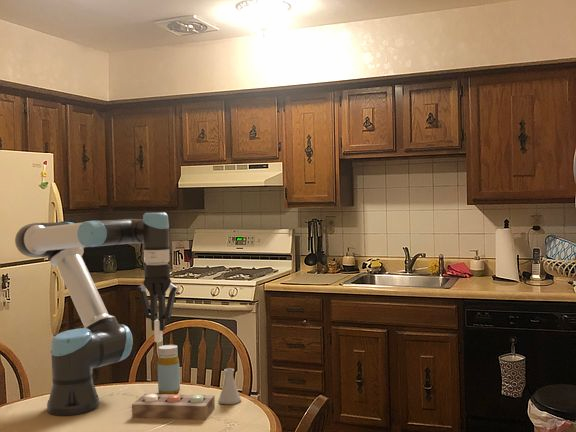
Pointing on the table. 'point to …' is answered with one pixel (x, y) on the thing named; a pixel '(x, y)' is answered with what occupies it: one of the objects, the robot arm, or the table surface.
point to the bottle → (168, 370)
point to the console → (173, 408)
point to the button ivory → (151, 398)
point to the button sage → (196, 399)
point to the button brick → (173, 398)
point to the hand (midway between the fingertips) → (158, 341)
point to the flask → (229, 389)
